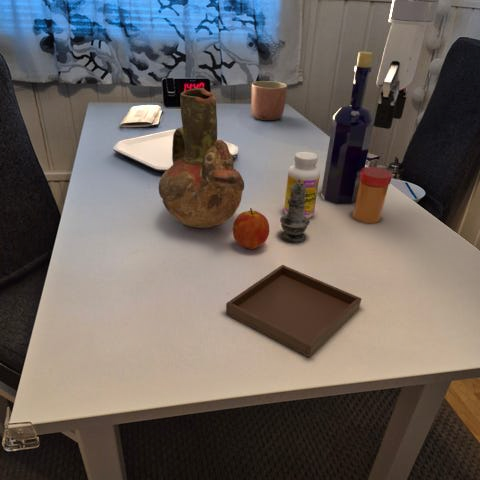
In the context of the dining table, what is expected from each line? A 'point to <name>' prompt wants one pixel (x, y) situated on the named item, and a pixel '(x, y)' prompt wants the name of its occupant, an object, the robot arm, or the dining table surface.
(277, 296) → the tray
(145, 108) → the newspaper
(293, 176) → the supplement bottle
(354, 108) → the bottle
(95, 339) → the dining table surface
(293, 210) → the grey carved figurine
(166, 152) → the plate
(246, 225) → the fruit
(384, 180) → the jar lid
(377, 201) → the jar
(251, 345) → the dining table surface
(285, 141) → the dining table surface
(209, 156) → the ceramic vessel
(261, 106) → the planter
